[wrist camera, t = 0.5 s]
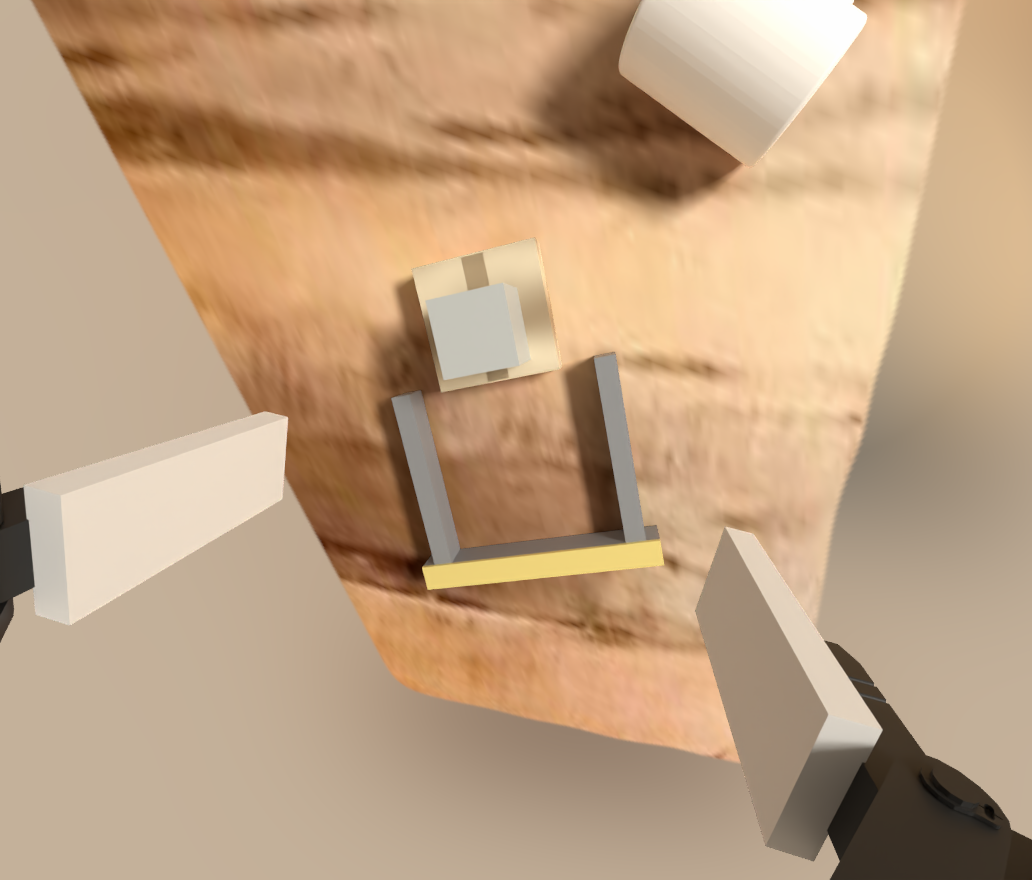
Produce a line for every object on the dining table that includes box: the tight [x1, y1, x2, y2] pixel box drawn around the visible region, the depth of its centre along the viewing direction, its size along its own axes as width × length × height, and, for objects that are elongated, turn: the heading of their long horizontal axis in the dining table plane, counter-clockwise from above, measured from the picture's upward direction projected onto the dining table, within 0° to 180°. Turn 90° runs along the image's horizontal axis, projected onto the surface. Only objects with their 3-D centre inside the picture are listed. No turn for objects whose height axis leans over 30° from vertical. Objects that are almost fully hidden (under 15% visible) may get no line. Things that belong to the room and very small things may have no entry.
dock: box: [391, 352, 664, 590], centre depth 39 cm, size 16×19×3 cm
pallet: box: [412, 237, 562, 392], centre depth 37 cm, size 9×9×3 cm
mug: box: [619, 0, 867, 167], centre depth 27 cm, size 12×10×8 cm
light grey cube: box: [426, 283, 531, 380], centre depth 33 cm, size 5×5×5 cm
